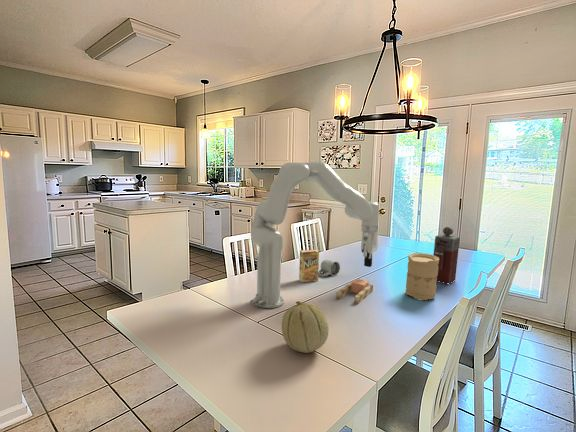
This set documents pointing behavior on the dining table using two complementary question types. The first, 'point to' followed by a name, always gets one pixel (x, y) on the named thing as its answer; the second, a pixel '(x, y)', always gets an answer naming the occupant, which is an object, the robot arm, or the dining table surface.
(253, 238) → the robot arm
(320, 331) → the cantaloupe
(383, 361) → the dining table surface
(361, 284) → the block
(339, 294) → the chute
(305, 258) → the candy box
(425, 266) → the container
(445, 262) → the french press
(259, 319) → the dining table surface
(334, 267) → the ceramic mug
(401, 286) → the dining table surface
